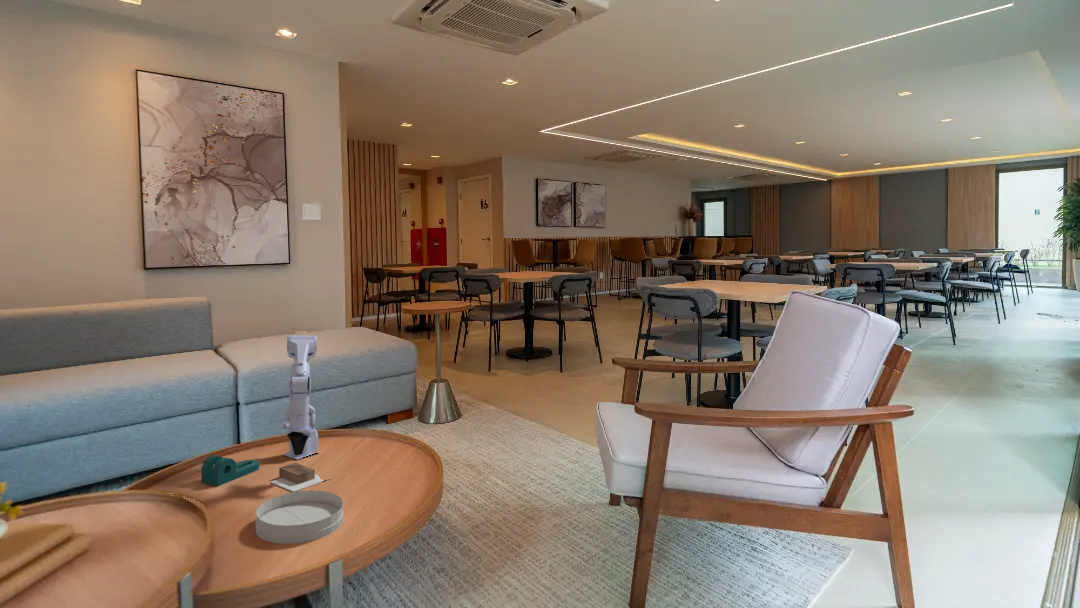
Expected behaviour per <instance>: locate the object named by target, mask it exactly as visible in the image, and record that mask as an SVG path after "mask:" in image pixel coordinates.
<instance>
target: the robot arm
mask: <svg viewBox="0 0 1080 608" xmlns="http://www.w3.org/2000/svg"><path fill="white" fill-rule="evenodd" d="M286 338H287V339H286V352H287V356H288V358H290V359H293V361H294V362H293V363H292V364H291V369H290V378H289V379H288V398H289V400H288V401H289V407H288V408H287V409H286V411H285V412H286V413H285V422H282V430H285V431H286V432H288V433H287V435H286V436H287V439H288V440H289V442H288V444H289V445H288V452H285V453H283V456H286V457H288V458H291V459H294V460H302V459H304V458H303V457H305V458H307V457H306V456H308V457H310V456H309V454H310V455H311V454H312V453H314V452H315V451H317V450H318V451H319V434H318V433H319V432H318V431H317V430H316V425H315V424H316V410H315V408H314V406H313V405H311V404H310V394H311V391H312V390H311V388H312V387H311V385H312V378H311V373H310V372H311V365H310V360H311V359H312V358H316V355H317V344H318V343H317V342H318V341H317V339H318V337H317V335H315V334H313V335H311V334H310V335H308V334H307V335H299V334H298V335H295V334H294V335H291V334H288V336H287V337H286ZM311 456H312V455H311Z"/></svg>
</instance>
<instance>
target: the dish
mask: <svg viewBox="0 0 1080 608" xmlns="http://www.w3.org/2000/svg"><path fill="white" fill-rule="evenodd" d="M255 513H256V520H255V534H256V535H257V536H258V538H259V539H261V540H263V541H265V542H267V543H269V542H270V543H273V544H282V545H283V544H284V545H289V544H301V543H307V542H310V541H311V542H312V541H316V540H318V539H322V538H324V537H326V536H329V535H331V534H332V533H334V532H335V531H336V530H338V529H339V528H340V527H341V526H342V524H343V523H344V522H343V521H344V513H345V512H344V501H343V499H342V498H341V497H340V496H339V495H337V494H336V493H333V492H330V491H323V490H300V491H297V492H291V491H290V492H287V493H283V494H280V495H277V496H274V497H272V498H269V499H268V500H266V501H264V502H263V503H261V504H260V505H259V506H258V508H257V509H256V511H255Z"/></svg>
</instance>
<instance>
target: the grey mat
mask: <svg viewBox="0 0 1080 608" xmlns="http://www.w3.org/2000/svg"><path fill="white" fill-rule="evenodd" d="M322 481H324V480H322V479H320V477H319V476H318V475H316V474H315V479H312V480H310V481H307V482H304V483H301V484H296V483H294V482H291V481H289V480H286V479H284V478H281V477H279V479H278V478H276V479H275V480H272V481H270V484H272V485H275V486H277V487H279V488H282V489H284V490H287V491H289V492H290V493H291V492H298V491H303V490H305V489H307V488H310V487H314V486H316V485H319V484H321V483H320V482H322ZM318 483H319V484H318ZM322 483H323V482H322Z"/></svg>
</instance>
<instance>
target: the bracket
mask: <svg viewBox="0 0 1080 608" xmlns="http://www.w3.org/2000/svg"><path fill="white" fill-rule="evenodd" d="M259 470H260V461H259V460H257V459H246V460H242V461H239V462H236V461H235V459H233V458H230V457H225V456H224V457H223V456H220V455H216V454H215V455H214V454H213V455H210V456H208V457H207V458H205V460H204V461H203V463H202V465H201V484H205V485H210V486H213V487H221V486H223V485H225V484H228V483H230V482H232V481H235V480H237V479H240V478H242V477H244V476H248V475H249V474H251V473H255V472H256V471H259Z"/></svg>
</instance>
